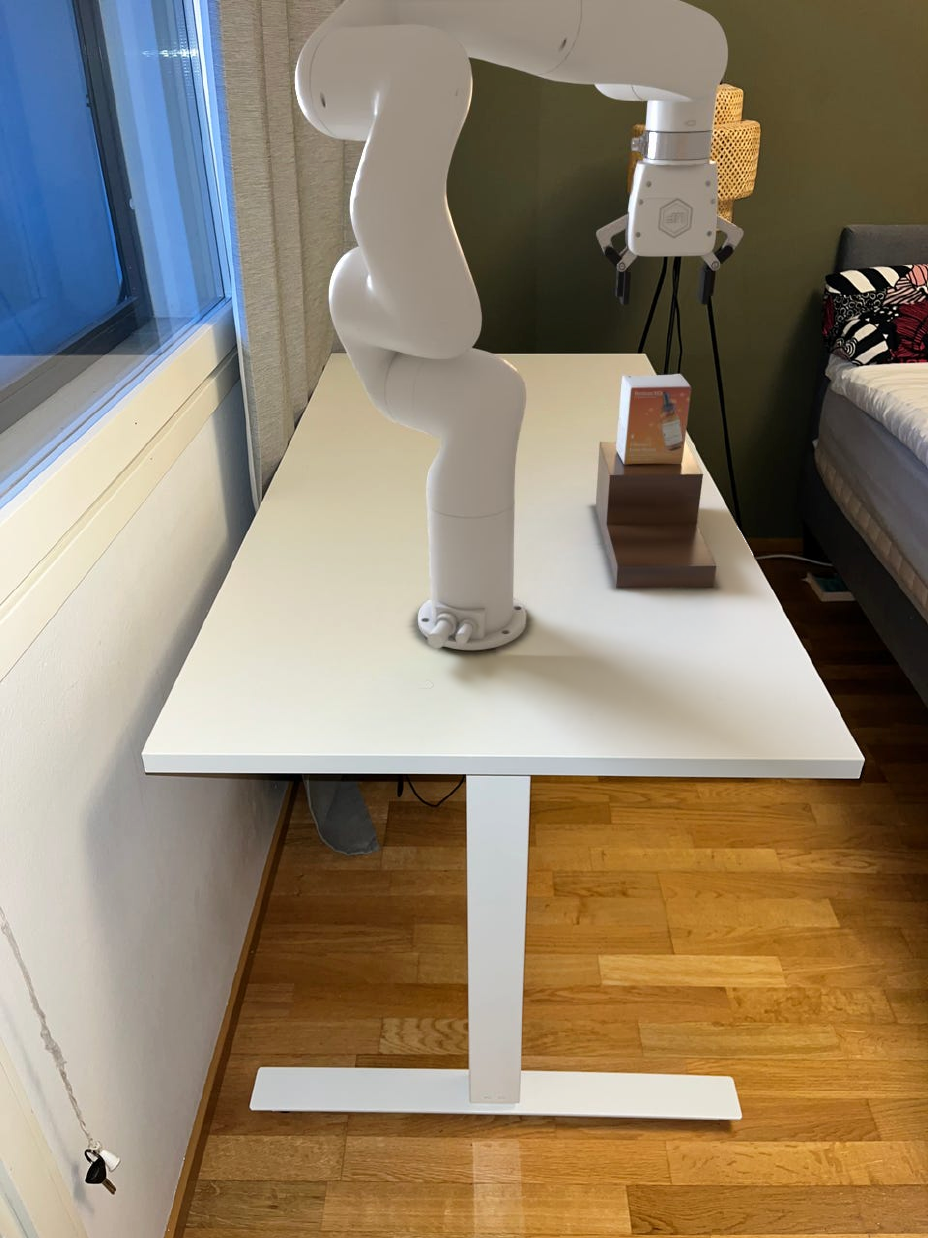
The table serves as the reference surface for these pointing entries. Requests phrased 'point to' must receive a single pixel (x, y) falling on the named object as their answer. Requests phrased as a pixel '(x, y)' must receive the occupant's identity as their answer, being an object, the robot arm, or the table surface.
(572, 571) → the table surface
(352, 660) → the table surface
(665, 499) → the step shelf
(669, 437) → the small box
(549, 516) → the table surface
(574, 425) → the table surface
